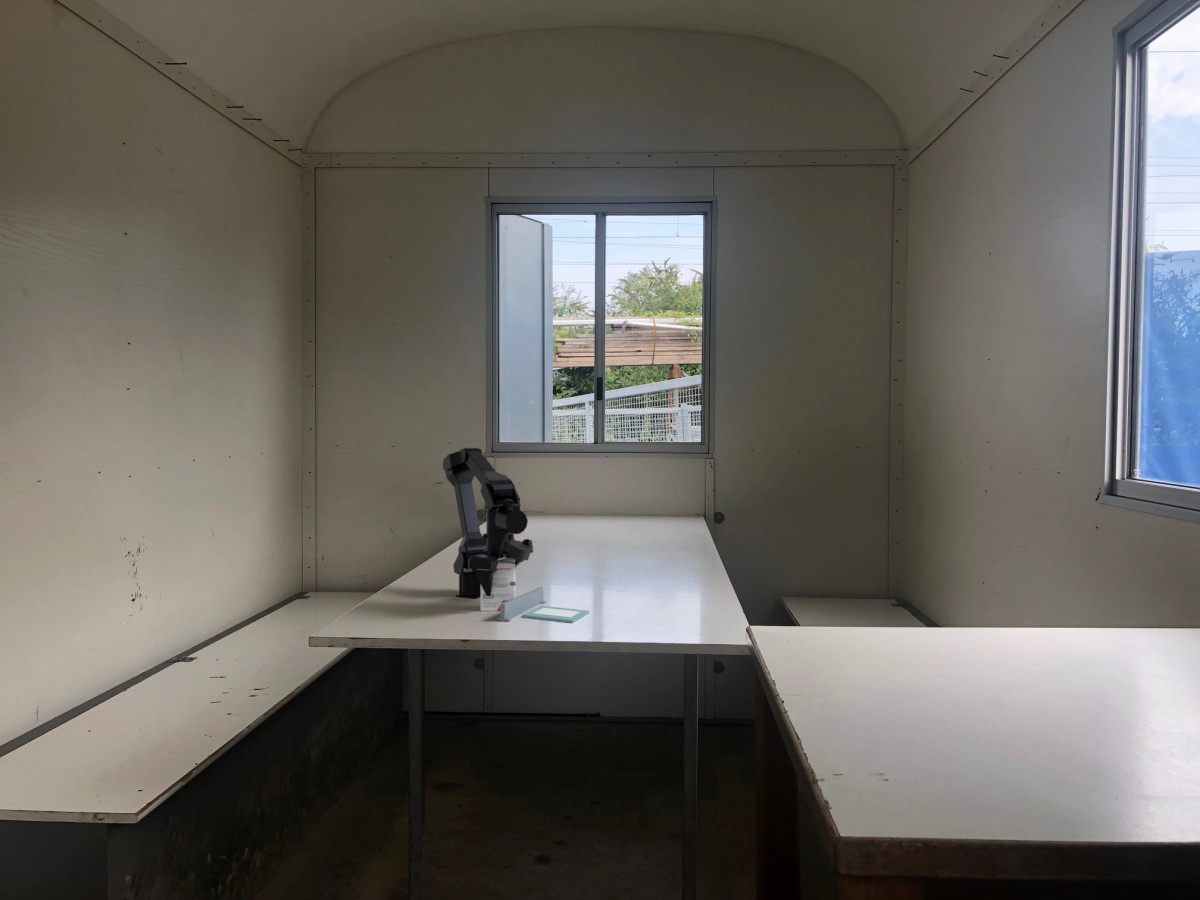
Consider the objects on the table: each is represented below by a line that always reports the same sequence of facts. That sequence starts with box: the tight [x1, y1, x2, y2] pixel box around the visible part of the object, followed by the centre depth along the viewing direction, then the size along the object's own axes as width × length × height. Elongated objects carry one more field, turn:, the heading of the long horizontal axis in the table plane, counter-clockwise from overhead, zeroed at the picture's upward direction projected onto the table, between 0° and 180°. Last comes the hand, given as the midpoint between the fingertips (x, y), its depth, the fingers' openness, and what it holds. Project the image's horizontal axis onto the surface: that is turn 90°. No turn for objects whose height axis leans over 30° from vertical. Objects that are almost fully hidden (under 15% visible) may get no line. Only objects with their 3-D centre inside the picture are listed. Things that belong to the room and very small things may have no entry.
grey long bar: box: [497, 586, 547, 622], centre depth 183 cm, size 3×20×4 cm, turn 158°
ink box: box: [479, 561, 516, 612], centre depth 185 cm, size 8×5×12 cm, turn 96°
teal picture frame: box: [521, 605, 590, 624], centre depth 179 cm, size 13×10×1 cm
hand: (497, 592), depth 185 cm, fingers open, 9 cm apart
